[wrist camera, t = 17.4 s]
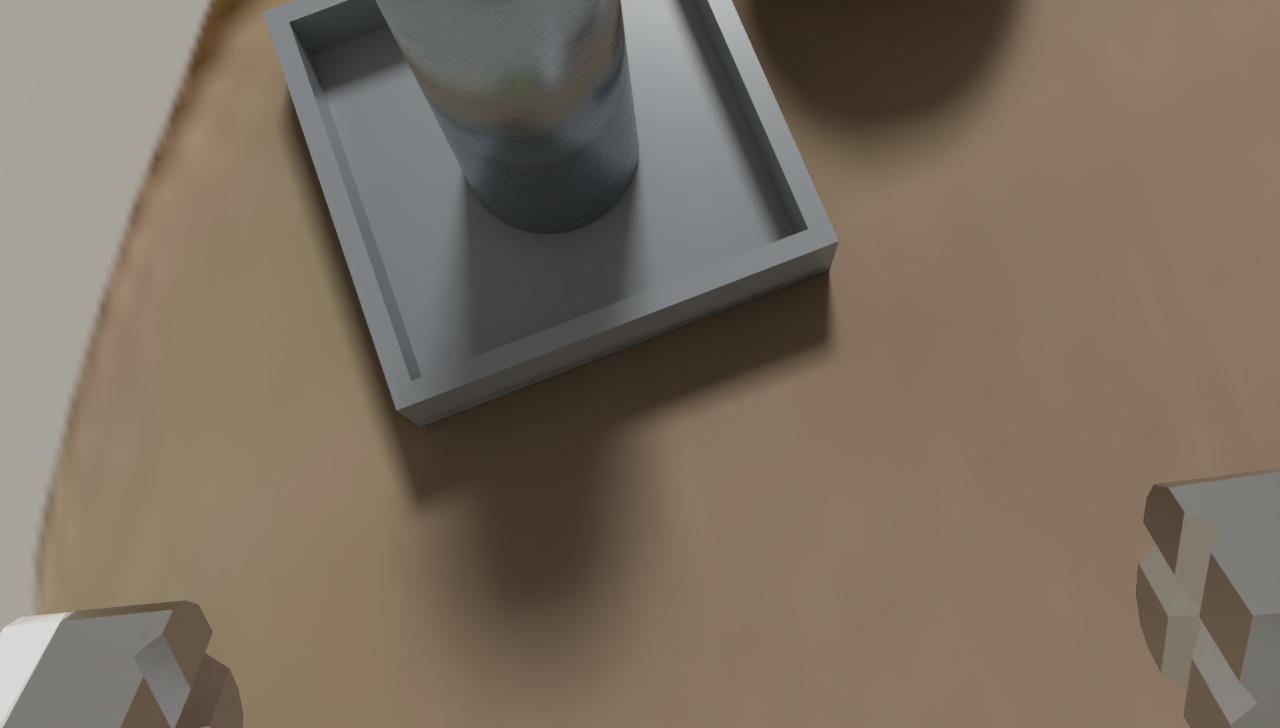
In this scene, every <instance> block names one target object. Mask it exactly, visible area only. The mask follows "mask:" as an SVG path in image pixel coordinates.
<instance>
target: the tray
mask: <svg viewBox="0 0 1280 728" xmlns="http://www.w3.org/2000/svg"><path fill="white" fill-rule="evenodd" d="M621 7H622V15H623V23H624V31H625V39H626V47H627V55H628V63H629V71H630V78H631V86H632V94H633V102H634V110H635V118H636V126H637V134H638V144H639V154H638V163H637V167H636V171H635V174H634V177H633V179H632V182H631V184H630V186H629V188H628V189H627V191H626V193H625V194H624V196H623V197H622V198H621V200H620V201H619V202H618V203H617V204H616V205H615V206H614V207H613V208H612V209H611V210H610V211H609V212H608V213H606V214H605V215H604V216H603V217H601V218H600V219H598V220H596V221H595V222H593V223H591V224H589V225H587V226H585V227H582V228H580V229H576V230H573V231H570V232H564V233H558V234H539V233H532V232H527V231H523V230H520V229H517V228H514V227H512V226H510V225H508V224H506V223H504V222H502V221H501V220H499V219H498V218H496V217H495V216H494V215H492V214H491V213H490V212H489V211H488V210H487V209H486V208H485V207H484V206H483V205H482V203H481V202H480V201H479V200H478V198H477V197H476V195H475V193H474V192H473V190H472V188H471V186H470V184H469V182H468V180H467V178H466V176H465V174H464V172H463V170H462V168H461V166H460V165H459V163H458V161H457V159H456V157H455V155H454V153H453V151H452V149H451V147H450V145H449V143H448V141H447V139H446V137H445V135H444V133H443V131H442V129H441V127H440V125H439V123H438V121H437V120H436V118H435V116H434V114H433V112H432V110H431V108H430V106H429V104H428V102H427V100H426V98H425V96H424V94H423V92H422V90H421V88H420V86H419V84H418V82H417V80H416V78H415V76H414V75H413V73H412V71H411V69H410V67H409V65H408V63H407V61H406V59H405V57H404V55H403V53H402V51H401V49H400V47H399V45H398V43H397V41H396V39H395V37H394V35H393V33H392V31H391V29H390V28H389V26H388V24H387V22H386V20H385V18H384V16H383V14H382V12H381V10H380V8H379V6H378V4H377V2H376V0H293V1H290V2H287V3H285V4H282V5H279V6H277V7H274V8H271V9H268V10H266V11H263V14H264V17H265V20H266V23H267V26H268V29H269V32H270V35H271V38H272V41H273V44H274V47H275V50H276V53H277V56H278V59H279V62H280V65H281V68H282V71H283V74H284V76H285V79H286V82H287V85H288V88H289V91H290V94H291V97H292V100H293V103H294V106H295V109H296V112H297V115H298V118H299V121H300V124H301V127H302V130H303V133H304V136H305V139H306V142H307V145H308V148H309V151H310V154H311V157H312V160H313V163H314V166H315V169H316V172H317V175H318V178H319V181H320V184H321V187H322V190H323V193H324V196H325V199H326V202H327V205H328V208H329V211H330V214H331V217H332V220H333V223H334V226H335V229H336V232H337V235H338V238H339V241H340V244H341V247H342V250H343V253H344V256H345V259H346V261H347V264H348V267H349V270H350V273H351V276H352V279H353V282H354V285H355V288H356V291H357V294H358V297H359V300H360V303H361V306H362V309H363V312H364V315H365V318H366V321H367V324H368V327H369V330H370V333H371V336H372V339H373V342H374V345H375V348H376V351H377V354H378V357H379V360H380V363H381V366H382V369H383V372H384V375H385V378H386V381H387V384H388V387H389V390H390V393H391V396H392V399H393V402H394V405H395V408H396V411H398V412H399V413H401V414H402V415H403V416H405V417H406V418H408V419H409V420H410V421H412V422H413V423H415V424H416V425H418V426H419V427H422V426H425V425H427V424H430V423H432V422H435V421H438V420H440V419H443V418H445V417H448V416H451V415H453V414H456V413H458V412H461V411H464V410H466V409H469V408H472V407H474V406H477V405H479V404H482V403H485V402H487V401H490V400H492V399H495V398H498V397H500V396H503V395H505V394H508V393H511V392H513V391H516V390H518V389H521V388H524V387H526V386H529V385H531V384H534V383H537V382H539V381H542V380H545V379H547V378H550V377H552V376H555V375H558V374H560V373H563V372H565V371H568V370H571V369H573V368H576V367H578V366H581V365H584V364H586V363H589V362H591V361H594V360H597V359H599V358H602V357H604V356H607V355H610V354H612V353H615V352H618V351H620V350H623V349H625V348H628V347H631V346H633V345H636V344H638V343H641V342H644V341H646V340H649V339H651V338H654V337H657V336H659V335H662V334H664V333H667V332H670V331H672V330H675V329H678V328H680V327H683V326H685V325H688V324H691V323H693V322H696V321H698V320H701V319H704V318H706V317H709V316H711V315H714V314H717V313H719V312H722V311H724V310H727V309H730V308H732V307H735V306H737V305H740V304H743V303H745V302H748V301H751V300H753V299H756V298H758V297H761V296H764V295H766V294H769V293H771V292H774V291H777V290H779V289H782V288H784V287H787V286H790V285H792V284H795V283H797V282H800V281H803V280H805V279H808V278H810V277H813V276H816V275H818V274H821V273H824V272H826V271H829V270H830V267H831V264H832V261H833V258H834V255H835V252H836V249H837V246H838V243H839V240H838V238H837V236H836V233H835V231H834V229H833V227H832V224H831V222H830V220H829V218H828V215H827V213H826V211H825V209H824V207H823V204H822V202H821V200H820V198H819V195H818V193H817V191H816V189H815V186H814V184H813V182H812V180H811V177H810V175H809V173H808V171H807V168H806V166H805V164H804V162H803V159H802V157H801V155H800V153H799V150H798V148H797V146H796V144H795V142H794V139H793V137H792V135H791V133H790V130H789V128H788V126H787V124H786V121H785V119H784V117H783V115H782V112H781V110H780V108H779V106H778V103H777V101H776V99H775V97H774V94H773V92H772V90H771V88H770V85H769V83H768V81H767V79H766V76H765V74H764V72H763V70H762V68H761V65H760V63H759V61H758V59H757V56H756V54H755V52H754V50H753V47H752V45H751V43H750V41H749V38H748V36H747V34H746V32H745V29H744V27H743V25H742V23H741V20H740V18H739V16H738V14H737V11H736V9H735V7H734V5H733V3H732V0H621Z"/></svg>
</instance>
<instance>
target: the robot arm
mask: <svg viewBox="0 0 1280 728" xmlns="http://www.w3.org/2000/svg"><path fill="white" fill-rule="evenodd" d="M1143 522H1144V524H1145V526H1146V528H1147V529H1148V531H1149V533H1150V534H1151V536H1152V538H1153V540H1154V541H1155V543H1156V544H1155V545H1154V546H1153V547H1152V548H1151V549H1150V551H1149V552H1148V553H1147V554H1146V555H1145V556H1144V557H1143V558H1142V559H1141V560H1140V561H1139V562H1138V571H1137V584H1136V598H1137V605H1138V612H1139V619H1140V625H1141V628H1142V631H1143V634H1144V637H1145V639H1146V642H1147V645H1148V648H1149V650H1150V652H1151V654H1152V656H1153V658H1154V660H1155V662H1156V664H1157V666H1158V668H1159V670H1160V672H1161V673H1162V674H1164V675H1165V676H1167V677H1169V678H1170V679H1172V680H1173V681H1175V682H1177V683H1178V684H1180V685H1181V686H1183V687H1185V688H1186V689H1187V696H1186V702H1185V709H1184V717H1185V719H1186V721H1187V723H1188V725H1189V727H1190V728H1280V467H1279V468H1277V469H1276V470H1263V471H1255V472H1247V473H1239V474H1231V475H1223V476H1215V477H1207V478H1200V479H1192V480H1184V481H1176V482H1168V483H1160V484H1154V485H1153V487H1152V489H1151V491H1150V493H1149V495H1148V497H1147V499H1146V506H1145V513H1144V520H1143ZM211 635H212V630H211V628H210V626H209V624H208V622H207V620H206V618H205V616H204V614H203V612H202V611H201V609H200V607H199V605H198V604H195V603H192V602H188V601H185V600H183V601H172V602H162V603H151V604H141V605H130V606H120V607H110V608H99V609H89V610H78V611H75V612H74V613H59V614H48V615H38V616H27V617H21V618H19V619H17V620H16V621H14V622H12V623H11V624H9V625H7V626H6V627H4V629H3V631H2V632H1V634H0V728H243V710H242V705H241V700H240V695H239V690H238V687H237V685H236V682H235V680H234V678H233V675H232V673H231V671H230V669H229V668H228V667H226V666H225V665H223V664H222V663H220V662H219V661H217V660H215V659H214V658H212V657H211V656H209V655H208V654H206V653H205V651H206V648H207V645H208V643H209V640H210V638H211Z"/></svg>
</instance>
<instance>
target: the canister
mask: <svg viewBox="0 0 1280 728" xmlns="http://www.w3.org/2000/svg"><path fill="white" fill-rule="evenodd" d="M376 2H377V4H378V6H379V8H380V10H381V12H382V14H383V16H384V18H385V20H386V22H387V24H388V26H389V28H390V29H391V31H392V33H393V35H394V37H395V39H396V41H397V43H398V45H399V47H400V49H401V51H402V53H403V55H404V57H405V59H406V61H407V63H408V65H409V67H410V69H411V71H412V73H413V75H414V76H415V78H416V80H417V82H418V84H419V86H420V88H421V90H422V92H423V94H424V96H425V98H426V100H427V102H428V104H429V106H430V108H431V110H432V112H433V114H434V116H435V118H436V120H437V121H438V123H439V125H440V127H441V129H442V131H443V133H444V135H445V137H446V139H447V141H448V143H449V145H450V147H451V149H452V151H453V153H454V155H455V157H456V159H457V161H458V163H459V165H460V166H461V168H462V170H463V172H464V174H465V176H466V178H467V180H468V182H469V184H470V186H471V188H472V190H473V192H474V193H475V195H476V197H477V198H478V200H479V201H480V202H481V203H482V205H483V206H484V207H485V208H486V209H487V210H488V211H489V212H490V213H491V214H492V215H494V216H495V217H496V218H498V219H499V220H501V221H502V222H504V223H506V224H508V225H510V226H512V227H514V228H517V229H520V230H523V231H527V232H532V233H539V234H558V233H564V232H570V231H573V230H576V229H580V228H582V227H585V226H587V225H589V224H591V223H593V222H595V221H596V220H598V219H600V218H601V217H603V216H604V215H605V214H606V213H608V212H609V211H610V210H611V209H612V208H613V207H614V206H615V205H616V204H617V203H618V202H619V201H620V200H621V198H622V197H623V196H624V194H625V193H626V191H627V189H628V188H629V186H630V184H631V182H632V179H633V177H634V174H635V171H636V167H637V163H638V154H639V144H638V134H637V126H636V118H635V110H634V102H633V94H632V86H631V78H630V71H629V63H628V55H627V47H626V39H625V31H624V23H623V15H622V7H621V0H376Z"/></svg>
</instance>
